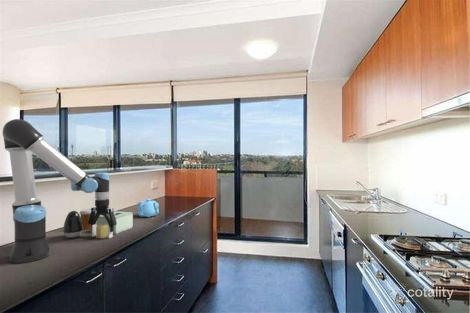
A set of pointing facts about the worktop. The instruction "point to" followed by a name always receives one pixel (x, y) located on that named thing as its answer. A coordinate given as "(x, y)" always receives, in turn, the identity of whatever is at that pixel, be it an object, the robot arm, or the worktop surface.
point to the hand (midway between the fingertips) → (102, 236)
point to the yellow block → (101, 231)
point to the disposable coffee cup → (85, 218)
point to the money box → (119, 221)
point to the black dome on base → (73, 225)
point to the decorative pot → (147, 208)
